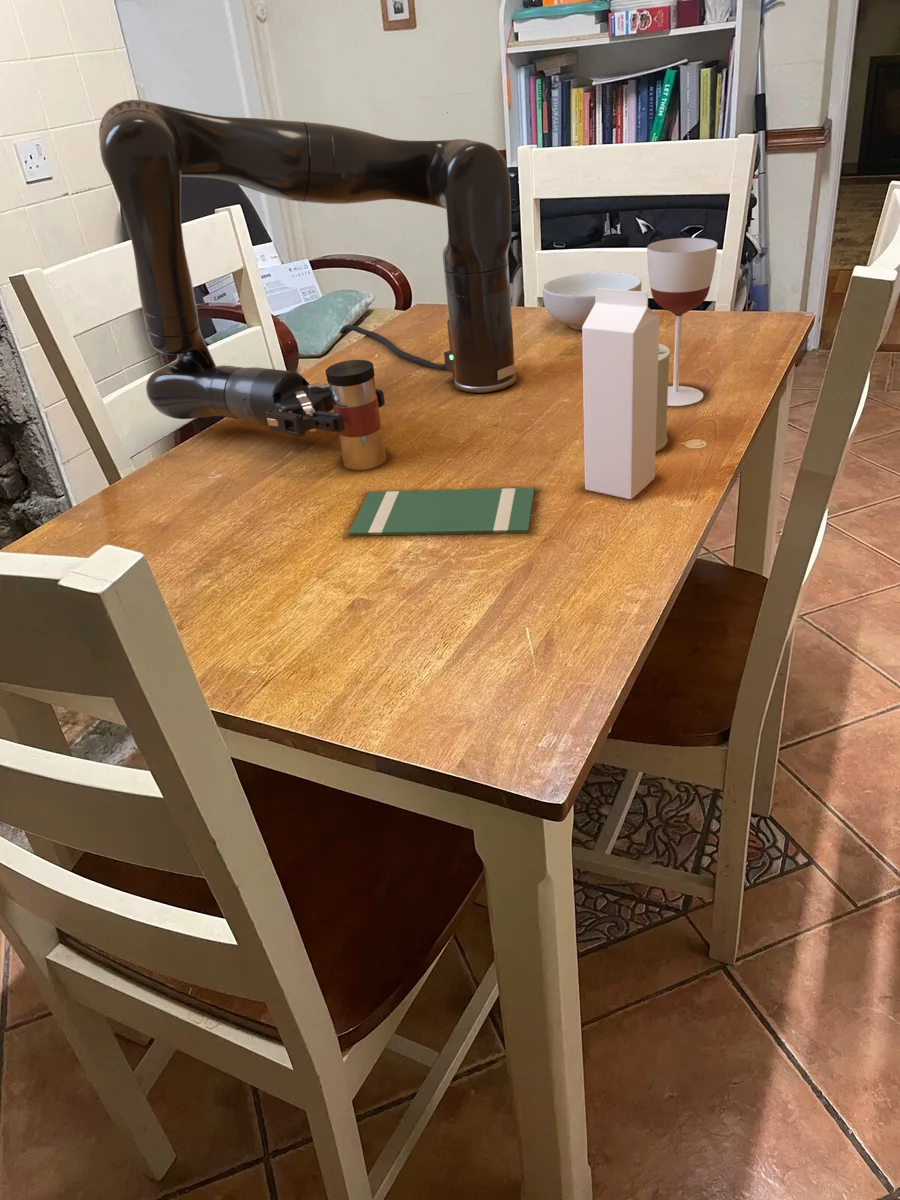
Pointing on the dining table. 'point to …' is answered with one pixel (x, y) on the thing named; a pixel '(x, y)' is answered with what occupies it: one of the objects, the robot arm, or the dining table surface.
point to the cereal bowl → (582, 294)
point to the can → (662, 396)
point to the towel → (445, 512)
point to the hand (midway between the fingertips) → (362, 410)
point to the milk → (620, 392)
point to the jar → (357, 413)
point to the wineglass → (681, 292)
